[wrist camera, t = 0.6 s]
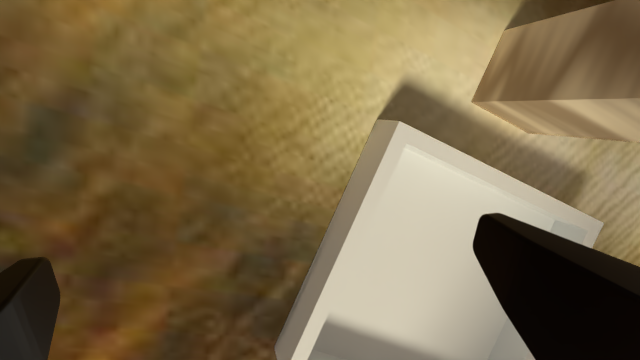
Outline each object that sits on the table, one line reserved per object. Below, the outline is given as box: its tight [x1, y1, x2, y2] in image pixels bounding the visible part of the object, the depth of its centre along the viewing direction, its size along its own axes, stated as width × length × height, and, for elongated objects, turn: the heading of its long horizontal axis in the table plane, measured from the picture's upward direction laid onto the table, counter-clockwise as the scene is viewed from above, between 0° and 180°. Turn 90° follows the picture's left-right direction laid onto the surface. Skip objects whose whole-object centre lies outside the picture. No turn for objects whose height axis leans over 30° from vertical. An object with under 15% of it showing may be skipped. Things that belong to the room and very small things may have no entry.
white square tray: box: [274, 119, 604, 360], centre depth 24 cm, size 14×14×3 cm
